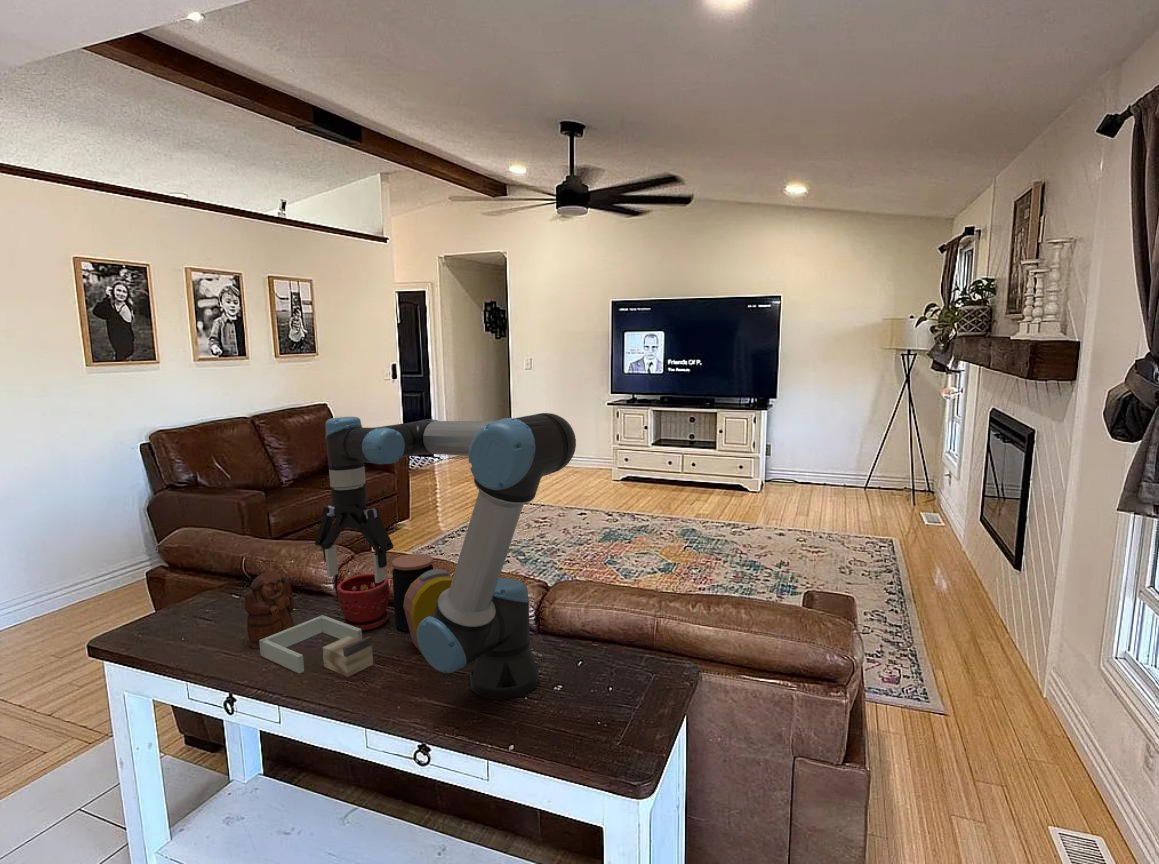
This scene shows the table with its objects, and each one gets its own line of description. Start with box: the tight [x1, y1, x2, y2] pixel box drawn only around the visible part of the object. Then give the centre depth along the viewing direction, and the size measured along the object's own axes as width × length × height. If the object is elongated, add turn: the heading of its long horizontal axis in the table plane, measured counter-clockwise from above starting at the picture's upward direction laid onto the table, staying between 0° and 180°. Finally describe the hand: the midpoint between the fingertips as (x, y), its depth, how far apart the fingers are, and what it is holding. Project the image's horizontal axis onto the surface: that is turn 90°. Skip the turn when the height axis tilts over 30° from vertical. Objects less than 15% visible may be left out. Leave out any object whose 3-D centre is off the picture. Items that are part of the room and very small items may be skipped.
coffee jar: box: [391, 553, 434, 633], centre depth 175 cm, size 11×11×18 cm
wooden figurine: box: [244, 571, 295, 649], centre depth 168 cm, size 12×6×18 cm, turn 159°
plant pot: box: [336, 573, 390, 631], centre depth 177 cm, size 13×13×12 cm
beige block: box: [322, 635, 374, 678], centre depth 155 cm, size 9×7×7 cm
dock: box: [259, 614, 363, 675], centre depth 163 cm, size 16×17×4 cm
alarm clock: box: [403, 568, 453, 654], centre depth 165 cm, size 15×8×18 cm, turn 123°
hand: (356, 578), depth 149 cm, fingers open, 13 cm apart
